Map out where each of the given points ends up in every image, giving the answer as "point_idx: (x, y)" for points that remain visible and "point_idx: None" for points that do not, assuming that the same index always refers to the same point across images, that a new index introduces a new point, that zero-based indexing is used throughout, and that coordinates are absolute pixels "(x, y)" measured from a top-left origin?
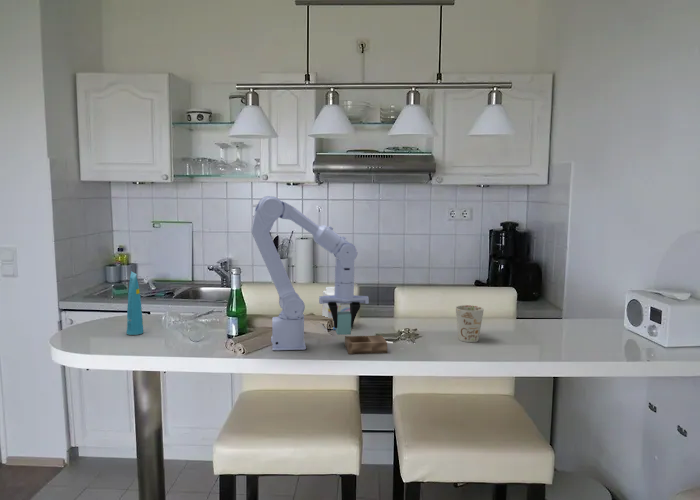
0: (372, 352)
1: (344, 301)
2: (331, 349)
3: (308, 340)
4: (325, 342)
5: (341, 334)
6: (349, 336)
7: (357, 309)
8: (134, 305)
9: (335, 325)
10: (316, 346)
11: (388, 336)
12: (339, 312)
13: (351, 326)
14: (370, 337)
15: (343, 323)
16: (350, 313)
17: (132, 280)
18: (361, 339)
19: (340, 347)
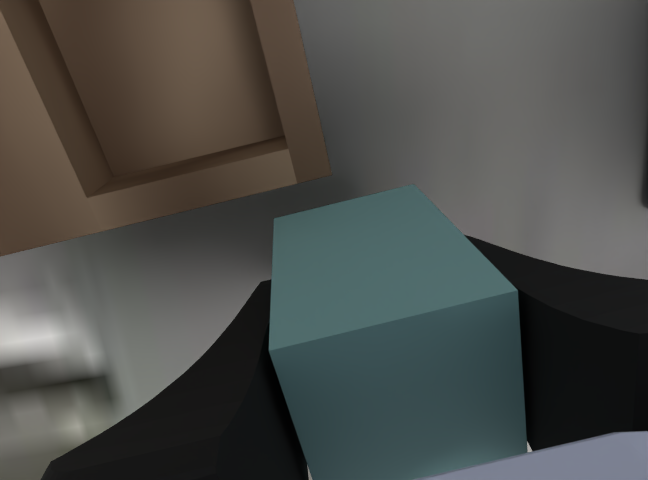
0: None
1: (593, 441)
2: (432, 41)
3: (605, 266)
4: (481, 237)
5: (371, 195)
6: (283, 177)
7: (118, 435)
8: None
9: (469, 239)
10: (557, 117)
11: (22, 453)
12: (478, 429)
13: (270, 281)
14: (47, 170)
15: (375, 246)
16: (291, 408)
17: None
18: (160, 175)
19: (356, 116)
